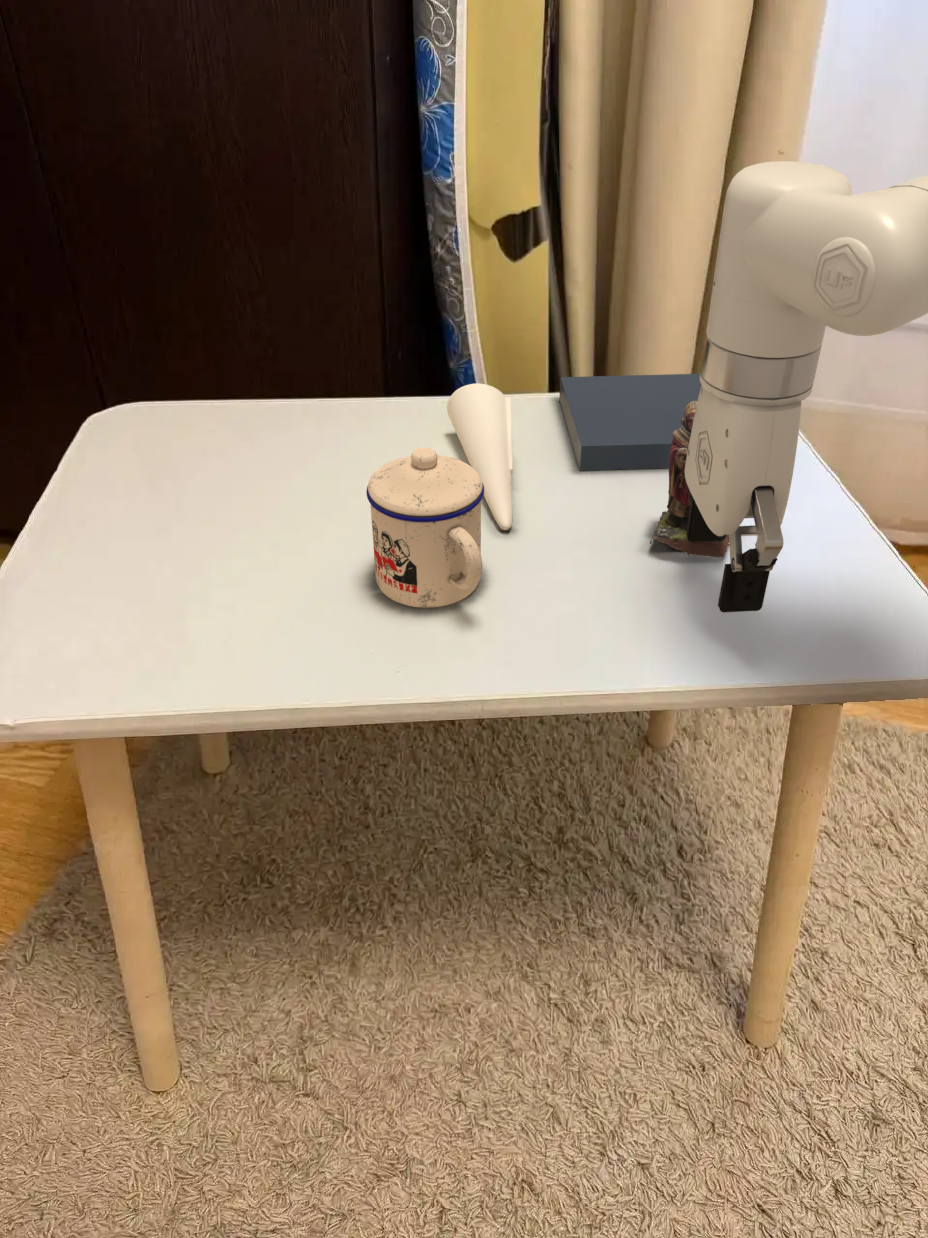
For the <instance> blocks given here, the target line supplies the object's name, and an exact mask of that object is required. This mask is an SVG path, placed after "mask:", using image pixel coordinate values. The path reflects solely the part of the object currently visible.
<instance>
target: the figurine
mask: <svg viewBox="0 0 928 1238" xmlns="http://www.w3.org/2000/svg"><path fill="white" fill-rule="evenodd" d="M696 406H697V402H696V401H692V402H690V403H689V404H688V405H687V406H686V409H685V410H684V415H685V418H683V419H681V427H680V428H679V429H677V430H675V431H674V432H673V440H672V442H671V447H670V454H669V468H668V500H667V505H666V508H667V510H666V511H662V512H661V515H660V516H659V521H658V522H657V526H656V527H655V530H654V531H653V534H652V536H651V539H650V541H649V544H650V545H651V544H652V541H653V540H655V541H658V542H660V543H662V544H666V545H668V546H669V547H671V548H672V549H674V550H677V551H678V550H679V551H680V552H683V554H688V555H690V556H696V557H697V556H698V557H710V558H721V559H722V558H725V556H726V554H727V552H728V547H730V546H729V535H727V536H726V538H725V539H724V540H722V541H700V542H690V541H689V540H688V538H687V536H686V533H687V526H688V519H689V513H690V506H691V499H692V494H691V492H690V490H689V487H688V485H687V483H686V479H685V464H686V458H687V452H688V447H689V441H690V436H691V431H692V426H693V421H694V416H695V411H696Z"/></svg>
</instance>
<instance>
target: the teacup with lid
mask: <svg viewBox="0 0 928 1238" xmlns="http://www.w3.org/2000/svg"><path fill="white" fill-rule="evenodd" d="M366 498H367V501H368V502H369V504H370V516H371V530H372V531H371V532H372V543H373V544H372V545H373V557H374V559H373V560H374V571H375V572H374V573H375V581H376V584H377V586H378V588H379V590H380V591H381V592H382V594H384V595H385V596H386V597H387V598H389V599H390V600H392V601H394V602H396V603H398V604H401V605H404V606H408V607H413V608H423V609H424V608H425V609H426V608H429V609H430V608H431V609H432V608H441V607H446V606H448V605H449V606H450V605H452V604H456V603H457V602H460V601H462V600H463V599H465V598H467V597H468V596H469V595H471V594H472V593H473V592H474V591H475V590H476V589H477V587H478V586H479V583H480V580H481V577H482V573H483V559H482V500H483V498H484V485H483V482H482V480H481V477H480V476H479V474H478V473H477V472H476V470H475V469H473V468H472V467H471V465H470V464H468V463H466V462H464V461H462V460H459V459H457V458H454V457H451V456H445V455H438V453H437V451H435V449H433V448H430V447H418V448H416V449H414V450H413V451H412V453H411V455H409V456H404V457H400V458H396V459H394V460H391V461H389V462H386V463H385V464H383V465H382V466H380V467H378V469H377V470H375V472H374V473H373V474H372V475H371V477H370V478H369V480H368V484H367V486H366Z"/></svg>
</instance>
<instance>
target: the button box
mask: <svg viewBox="0 0 928 1238" xmlns="http://www.w3.org/2000/svg"><path fill="white" fill-rule="evenodd" d="M559 381H560V382H559V397H558V399H559V401H558V402H559V404H560V407H561V411H562V415H563V417H564V422H565V424H566V428H567V432H568V435H569V439H570V442H571V445H572V449H573V452H574V455H575V459H576V463H577V466H578V469H579V471H580V472H581V471H583V472H584V471H614V470H615V471H616V470H617V471H618V470H649V469H652V470H653V469H655V470H656V469H669V454H670V447H671V442H672V440H673V432H674V431H675V430H677V429H679V428H680V427H681V419H683V418H685V415H684V410H685V409H686V406H687V405H688V404H689V403H690V402H692V401H696V402H697V401H698V397H699V393H700V389H701V386H702V385H701V384H700V373H674V374H671V373H670V374H636V375H635V374H634V375H597V376H596V375H594V376H593V375H592V376H591V375H590V376H589V375H588V376H560V379H559Z"/></svg>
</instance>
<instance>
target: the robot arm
mask: <svg viewBox="0 0 928 1238" xmlns="http://www.w3.org/2000/svg"><path fill="white" fill-rule="evenodd" d="M852 188H853V187H852V185H851V183H850V181H849V179H848V178H847V176H845V174H843V173H842V172H841V171H839V170H837V169H835V168H832V167H830V166H826V165H823V164H819V163H814V162H807V161H795V160H794V161H793V160H774V161H764V162H758V163H756V164H751V165H748V166H746V167H744V168H742V169H741V170H740V171H738V172H737V173H736V174H735V175H734V176H733V178H732V179H731V181H730V183H729V185H728V188H727V190H726V194H725V198H724V199H725V200H724V205H723V211H722V218H721V225H720V232H719V238H718V247H717V254H716V261H715V267H714V274H713V280H712V281H713V282H712V288H711V296H710V303H709V308H708V317H707V324H706V331H705V332H706V333H705V340H704V346H703V353H702V360H701V368H700V373H699V374H700V384H701V385H702V386H701V389H700V393H699V397H698V401H697V406H696V411H695V416H694V421H693V426H692V431H691V436H690V441H689V447H688V452H687V458H686V464H685V479H686V483H687V485H688V487H689V490H690V492H691V494H692V499H691V506H690V513H689V519H688V526H687V533H686V536H687V538H688V540H689V541H690V542H700V541H722V540H724V539H725V538H726V536H727V535H729V546H728V547H729V562H730V563H725V564H724V568H723V573H722V579H721V585H720V590H719V595H718V602H717V607H718V609H719V612H721V613H741V612H757V611H760V610H762V608H763V605H764V601H765V595H766V591H767V586H768V583H769V582H768V581H769V577H770V572H771V571H773V569H774V567H775V565H776V564H777V561H778V560H779V559H778V557H779V554H780V553H781V551H782V549H783V547H784V537H783V532H782V528H781V527H782V524H783V521H784V517H785V514H786V509H787V506H788V501H789V497H790V492H791V487H792V483H793V482H792V480H793V474H794V470H795V462H796V457H797V449H798V442H799V441H798V440H799V432H800V424H801V423H800V422H801V414H802V401H804V400H806V399H807V398H809V397H810V395H811V394H812V392H813V389H814V388H813V387H814V383H815V378H816V374H817V373H816V372H817V369H818V364H819V359H820V354H821V350H822V344H823V342H824V337H825V333H826V327H828V328H830V329H832V330H835V331H837V332H840V333H843V334H846V335H851V336H856V337H872V336H876V335H882V334H884V333H888V332H891V331H894V330H895V329H897V328H899V327H901V326H904V325H906V324H909V323H910V322H913V321H915V320H917V319H920V318H922V317H924V316H925V315H927V314H928V172H926V174H925V175H923V176H919V177H916V178H912V179H910V180H907V181H904V182H902V183H899V184H895V185H893V186H889V187H887V188H883V189H878V190H872V191H867V192H862V193H857V194H853V189H852ZM745 519H753V521H754V525H742V523H743V522H744V520H745ZM755 536H756V542H755V545H754V546H755V547H754V548H749V549H747V550H746V551H744V552H743V541H742V539H743V538H742V537H755Z"/></svg>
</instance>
